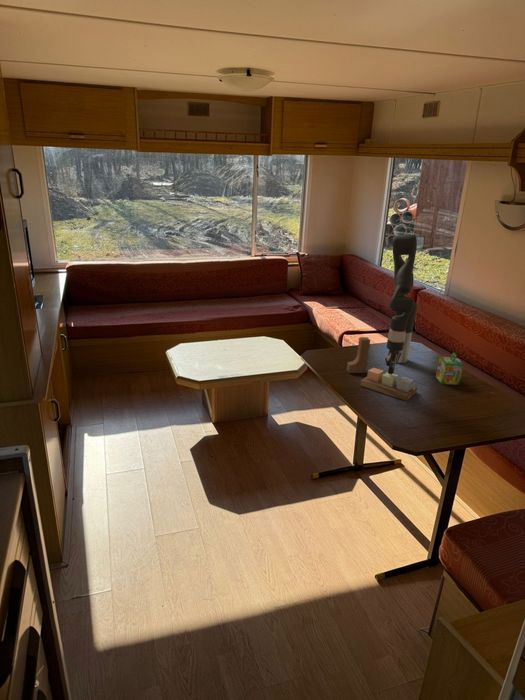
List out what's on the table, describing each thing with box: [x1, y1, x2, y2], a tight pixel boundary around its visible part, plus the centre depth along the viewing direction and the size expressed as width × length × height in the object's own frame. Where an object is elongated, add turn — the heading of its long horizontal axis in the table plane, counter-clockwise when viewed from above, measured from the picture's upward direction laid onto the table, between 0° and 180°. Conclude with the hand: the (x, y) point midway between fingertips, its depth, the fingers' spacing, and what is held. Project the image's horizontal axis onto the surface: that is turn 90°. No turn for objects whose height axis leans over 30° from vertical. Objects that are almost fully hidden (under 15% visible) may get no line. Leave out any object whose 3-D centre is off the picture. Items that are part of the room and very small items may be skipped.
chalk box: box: [434, 352, 464, 386], centre depth 246 cm, size 9×9×15 cm
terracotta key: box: [366, 367, 384, 383], centre depth 238 cm, size 6×6×5 cm
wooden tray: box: [360, 376, 418, 402], centre depth 235 cm, size 12×23×3 cm, turn 52°
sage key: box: [381, 371, 399, 387], centre depth 234 cm, size 6×6×5 cm
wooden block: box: [346, 336, 371, 374], centre depth 251 cm, size 9×4×18 cm, turn 97°
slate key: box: [396, 376, 414, 392], centre depth 230 cm, size 6×6×5 cm
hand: (390, 373), depth 233 cm, fingers closed
